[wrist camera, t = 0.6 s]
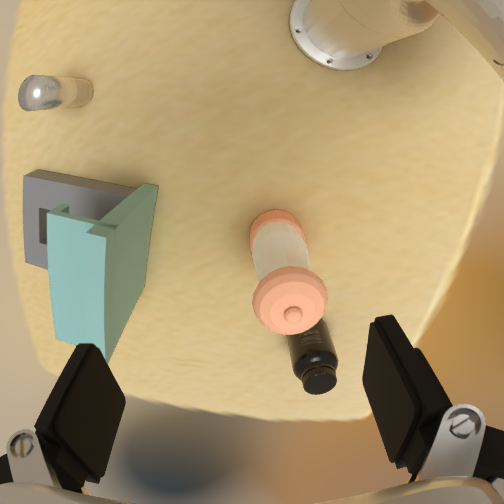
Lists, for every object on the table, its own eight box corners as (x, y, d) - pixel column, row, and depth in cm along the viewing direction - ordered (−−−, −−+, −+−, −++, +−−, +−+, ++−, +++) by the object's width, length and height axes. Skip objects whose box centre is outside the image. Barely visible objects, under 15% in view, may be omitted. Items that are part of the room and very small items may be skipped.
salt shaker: (292, 263, 46) (317, 355, 29) (243, 252, 46) (242, 342, 28) (308, 217, 44) (348, 292, 26) (257, 203, 43) (265, 274, 25)
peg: (72, 78, 34) (21, 75, 23) (96, 79, 34) (48, 75, 24) (67, 105, 36) (15, 110, 25) (90, 108, 36) (41, 112, 25)
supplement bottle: (280, 341, 53) (287, 395, 42) (297, 309, 50) (309, 363, 39) (315, 350, 54) (328, 402, 43) (334, 320, 51) (353, 371, 40)
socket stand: (38, 163, 39) (-44, 199, 22) (158, 186, 41) (106, 237, 25) (38, 256, 45) (-24, 317, 29) (144, 286, 48) (105, 368, 31)
